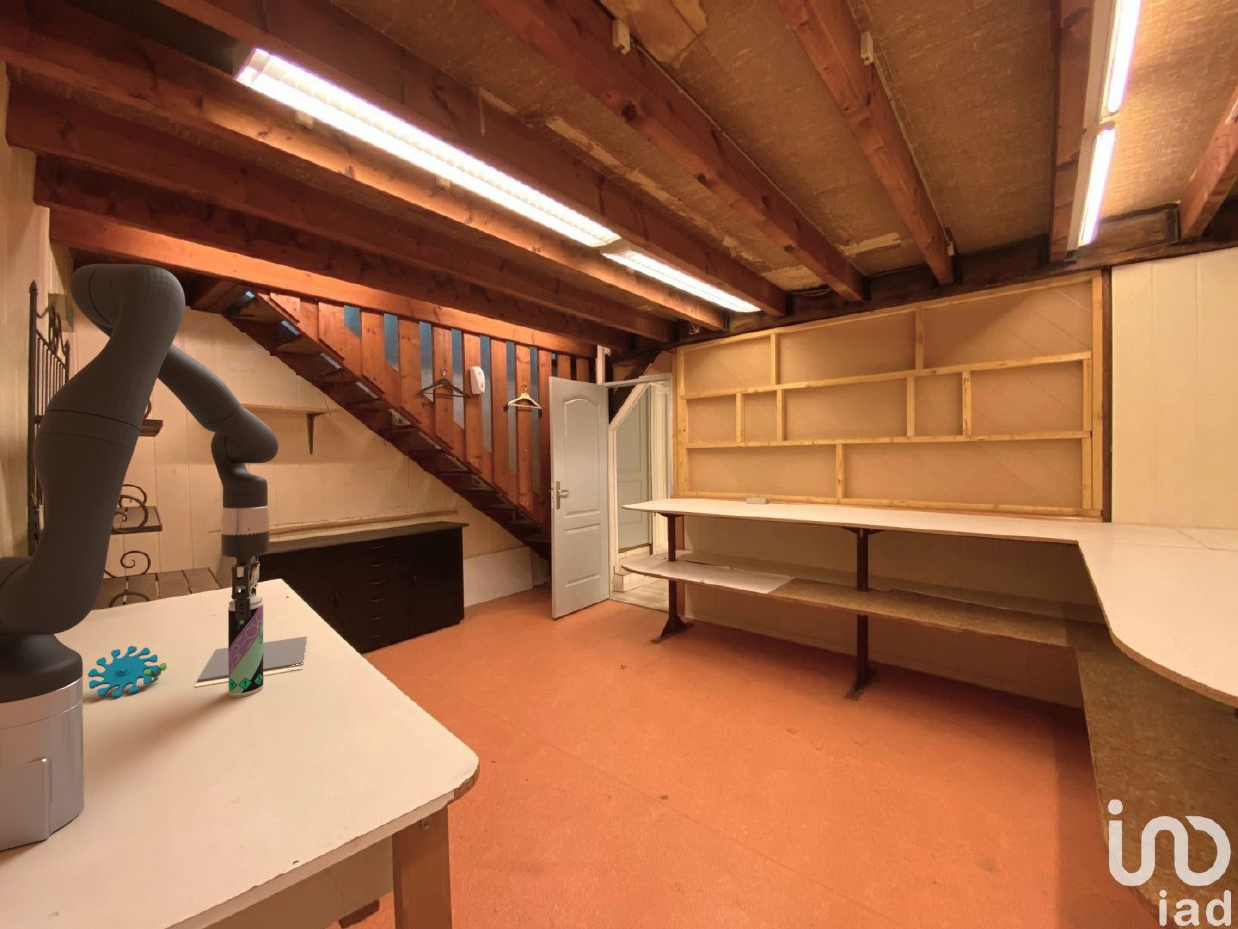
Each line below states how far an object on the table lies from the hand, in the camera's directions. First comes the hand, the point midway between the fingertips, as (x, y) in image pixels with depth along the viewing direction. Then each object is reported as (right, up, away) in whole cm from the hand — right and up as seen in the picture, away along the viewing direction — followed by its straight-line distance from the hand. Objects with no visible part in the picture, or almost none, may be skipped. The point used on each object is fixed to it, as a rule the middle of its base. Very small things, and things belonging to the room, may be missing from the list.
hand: (246, 613), depth 98 cm
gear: (-23, -15, 0) cm, 28 cm away
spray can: (0, -15, 0) cm, 15 cm away
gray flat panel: (-8, -15, +15) cm, 23 cm away
